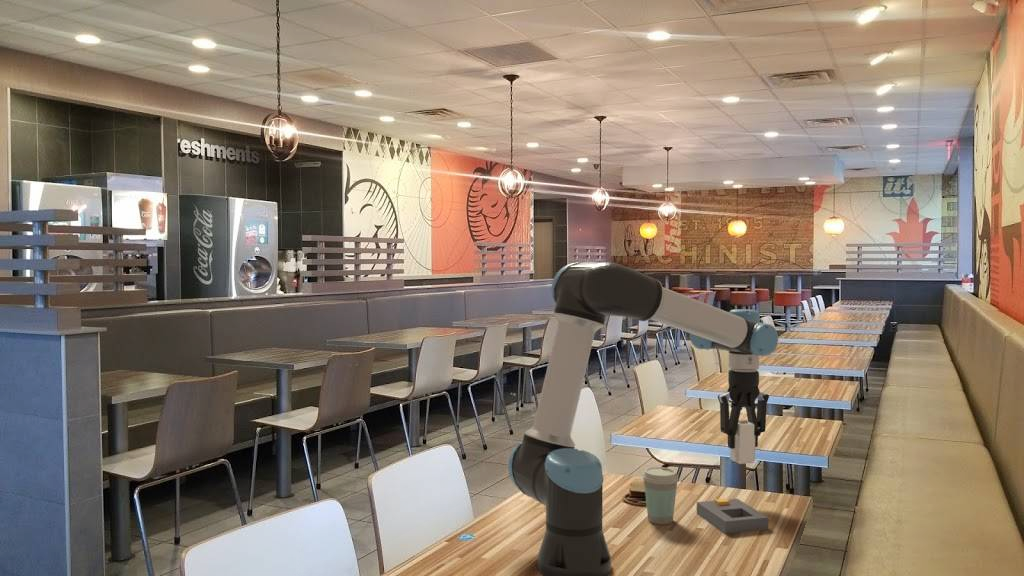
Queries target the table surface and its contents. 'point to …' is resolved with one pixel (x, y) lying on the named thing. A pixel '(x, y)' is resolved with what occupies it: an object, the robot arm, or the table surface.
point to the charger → (745, 442)
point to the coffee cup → (660, 494)
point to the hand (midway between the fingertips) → (742, 460)
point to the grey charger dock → (732, 516)
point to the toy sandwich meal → (636, 494)
